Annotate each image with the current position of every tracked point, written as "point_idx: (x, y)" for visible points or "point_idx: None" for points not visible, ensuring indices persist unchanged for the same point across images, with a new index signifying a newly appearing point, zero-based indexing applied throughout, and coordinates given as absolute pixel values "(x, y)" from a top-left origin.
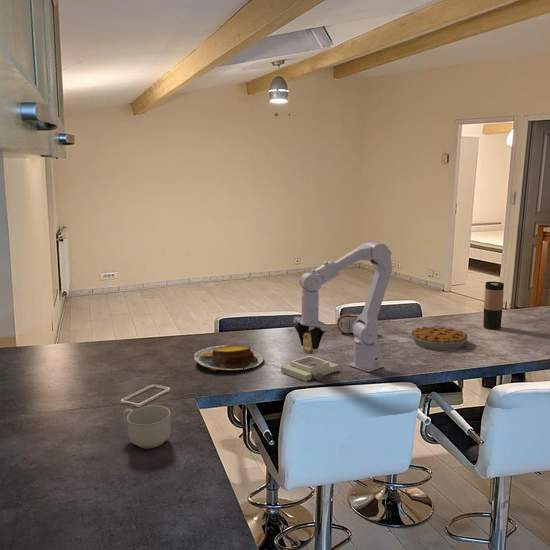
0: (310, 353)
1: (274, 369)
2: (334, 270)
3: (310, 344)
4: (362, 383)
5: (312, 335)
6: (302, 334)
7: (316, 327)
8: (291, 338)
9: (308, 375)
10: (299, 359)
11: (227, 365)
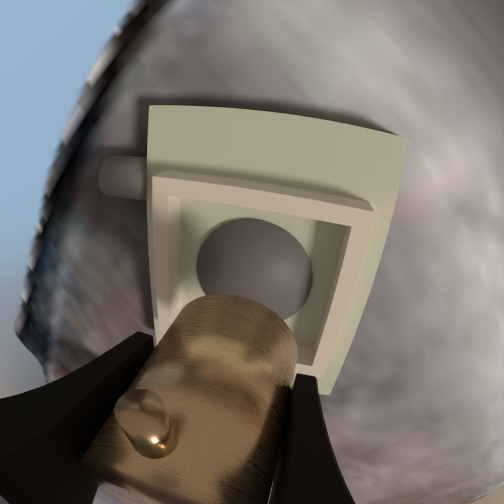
0: (189, 304)
1: (460, 161)
2: None
3: (148, 362)
4: (37, 259)
5: (33, 416)
6: (282, 486)
7: (8, 501)
8: (492, 462)
9: (151, 132)
10: (336, 287)
11: None
